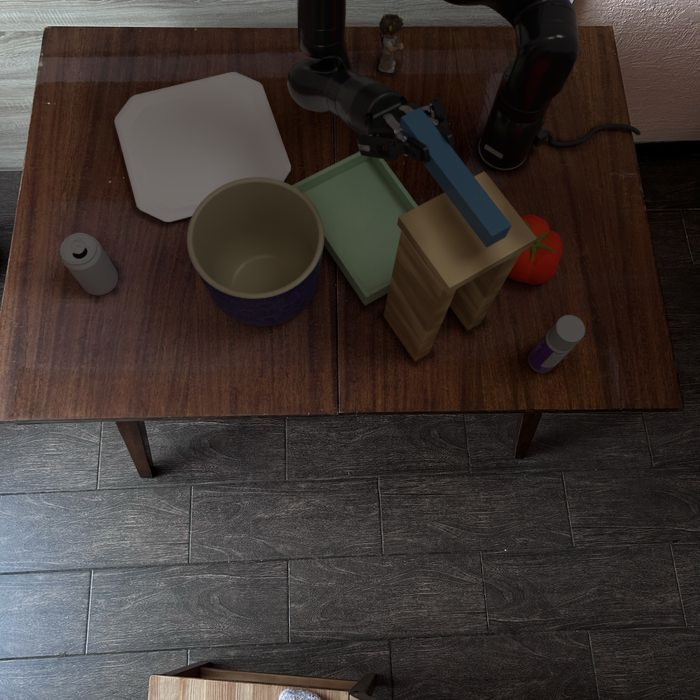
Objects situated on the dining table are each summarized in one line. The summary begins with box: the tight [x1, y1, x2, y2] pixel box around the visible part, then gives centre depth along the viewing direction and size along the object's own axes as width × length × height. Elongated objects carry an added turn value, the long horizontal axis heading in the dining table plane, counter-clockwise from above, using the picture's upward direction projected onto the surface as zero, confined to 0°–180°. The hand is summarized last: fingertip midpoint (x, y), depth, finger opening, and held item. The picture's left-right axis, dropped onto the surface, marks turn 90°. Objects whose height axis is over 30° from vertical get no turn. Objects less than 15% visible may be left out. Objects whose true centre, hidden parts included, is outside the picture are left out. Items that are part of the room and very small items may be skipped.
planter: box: [186, 177, 325, 328], centre depth 113 cm, size 21×21×19 cm
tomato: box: [507, 213, 563, 286], centre depth 122 cm, size 13×12×8 cm
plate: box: [114, 71, 292, 224], centre depth 130 cm, size 29×29×2 cm
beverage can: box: [59, 232, 119, 296], centre depth 116 cm, size 6×6×12 cm
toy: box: [376, 3, 406, 74], centre depth 132 cm, size 6×6×15 cm
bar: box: [400, 108, 512, 248], centre depth 88 cm, size 3×20×3 cm, turn 32°
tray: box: [292, 150, 419, 306], centre depth 125 cm, size 18×26×4 cm
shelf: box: [383, 170, 537, 362], centre depth 106 cm, size 14×12×32 cm
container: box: [527, 314, 586, 374], centre depth 112 cm, size 5×5×15 cm
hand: (439, 148), depth 87 cm, fingers closed on bar, 3 cm apart
